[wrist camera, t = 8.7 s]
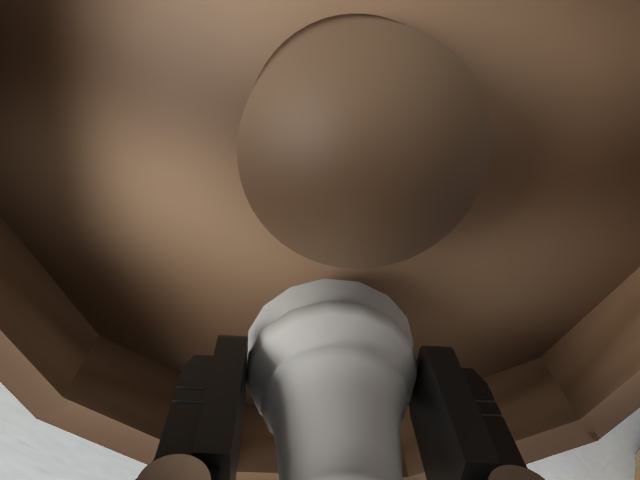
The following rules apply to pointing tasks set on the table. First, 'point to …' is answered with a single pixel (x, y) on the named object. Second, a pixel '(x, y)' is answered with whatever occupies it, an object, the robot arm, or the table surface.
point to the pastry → (637, 466)
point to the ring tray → (213, 265)
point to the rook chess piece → (333, 380)
